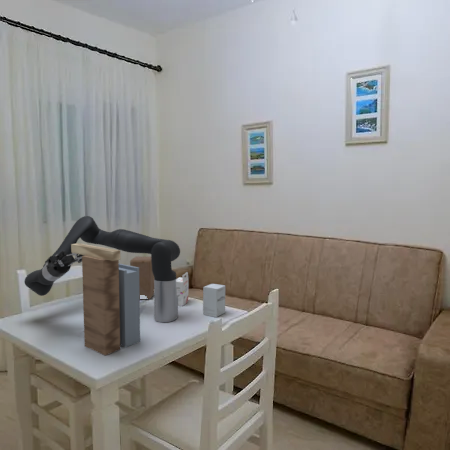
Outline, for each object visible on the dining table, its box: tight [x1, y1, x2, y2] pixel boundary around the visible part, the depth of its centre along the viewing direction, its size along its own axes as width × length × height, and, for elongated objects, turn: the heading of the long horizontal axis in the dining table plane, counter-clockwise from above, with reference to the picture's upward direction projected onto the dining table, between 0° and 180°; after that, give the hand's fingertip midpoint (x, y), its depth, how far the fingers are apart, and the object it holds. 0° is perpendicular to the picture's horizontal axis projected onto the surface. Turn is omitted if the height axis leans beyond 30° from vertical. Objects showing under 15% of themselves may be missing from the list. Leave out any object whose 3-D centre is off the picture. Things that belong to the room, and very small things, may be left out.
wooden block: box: [129, 256, 154, 301], centre depth 192 cm, size 10×10×20 cm
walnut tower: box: [81, 255, 121, 356], centre depth 131 cm, size 6×12×32 cm, turn 53°
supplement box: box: [202, 283, 226, 318], centre depth 168 cm, size 7×7×13 cm
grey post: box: [119, 263, 141, 348], centre depth 138 cm, size 6×12×27 cm, turn 53°
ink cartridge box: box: [176, 271, 189, 307], centre depth 183 cm, size 9×5×15 cm, turn 168°
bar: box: [71, 242, 121, 261], centre depth 131 cm, size 3×24×3 cm, turn 53°
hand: (75, 251), depth 138 cm, fingers open, 8 cm apart
